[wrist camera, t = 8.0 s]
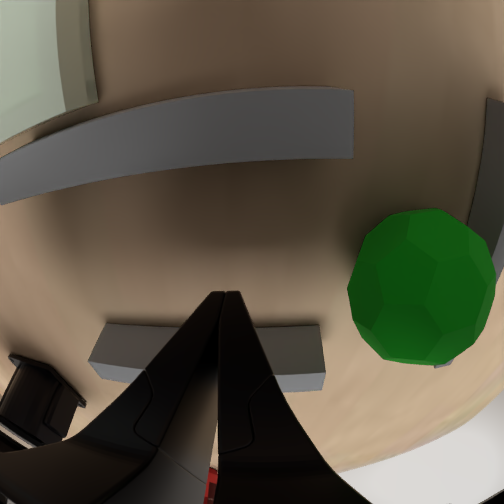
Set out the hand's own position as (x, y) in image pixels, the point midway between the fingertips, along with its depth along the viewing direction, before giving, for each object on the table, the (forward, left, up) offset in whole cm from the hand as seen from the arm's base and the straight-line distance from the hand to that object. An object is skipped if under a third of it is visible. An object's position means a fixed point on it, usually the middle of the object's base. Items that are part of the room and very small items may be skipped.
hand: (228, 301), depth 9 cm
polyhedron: (+6, 0, -3) cm, 7 cm away
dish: (-8, +10, -2) cm, 13 cm away
